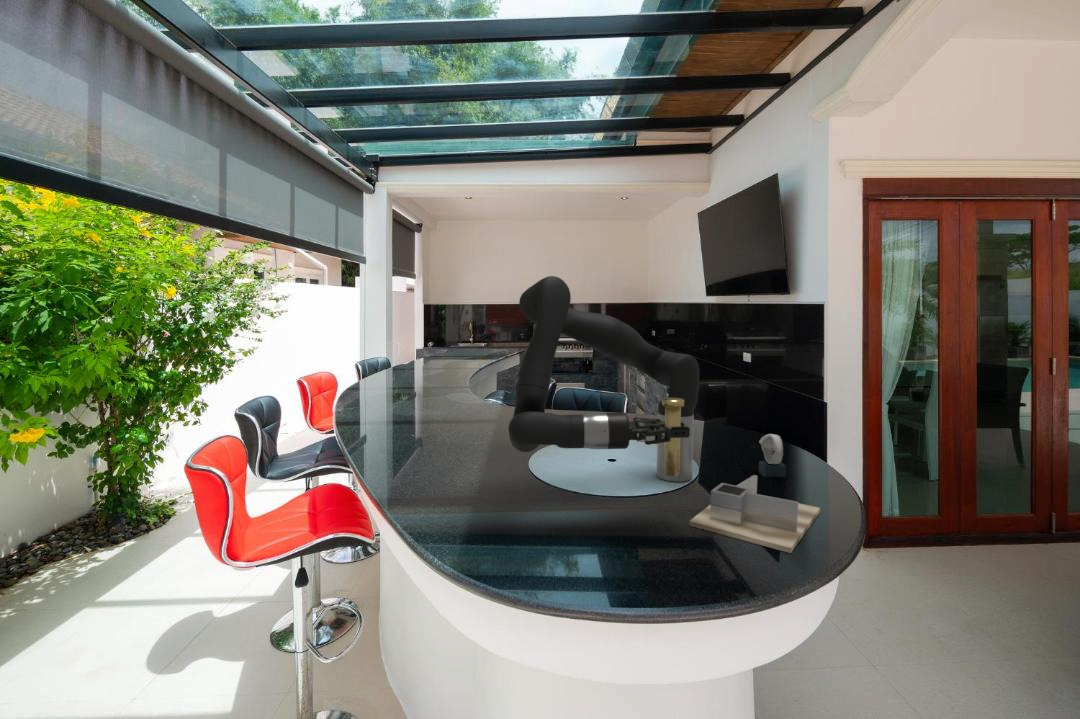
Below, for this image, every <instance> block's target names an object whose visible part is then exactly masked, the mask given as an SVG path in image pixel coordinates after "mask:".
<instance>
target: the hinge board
mask: <svg viewBox="0 0 1080 719" xmlns="http://www.w3.org/2000/svg"><path fill="white" fill-rule="evenodd" d="M820 513H821V507H819V506H815V505H809V504H806V503H805V504H804V503H799V502H798V520H797V532H794V531H790V530H785V529H781V528H776V527H771V526H767V525H762V524H757V523H753V522H748V521H745V522H744V523H743V524H742V525H741V526H739V525H736V524H732V523H728V522H724V521H720V520H716V519H712V518H710V504H709V505H707V507H705V508H704V509H703V510H701V511H700V512H699V513H697V514H696V515H695V516H694V517H692V518H691V519H690V520H689V521H688V523H689V524H688V525H689V527H692V528H697V529H700V530H703V529H704V530H703V531H707V532H712V533H714V532H715V533H714V534H718V535H722V536H726V537H730V538H733V539H738V540H739V541H740V540H741V541H744V542H748V543H752V544H755V545H759V546H763V547H767V548H769V549H770V548H771V549H774V550H778V551H781V552H784V553H789V554H792V553H793V551H794V549H795V548H796V546H797V545H798V544H799V542H800V541H801V539H802V538H803V536H804V535H805V534H806V532H807V531H808V530H809V528H810V527H811V525H812V524H813V522H814V521H815V520H816V518H817V517H818V516H819V514H820Z"/></svg>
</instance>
